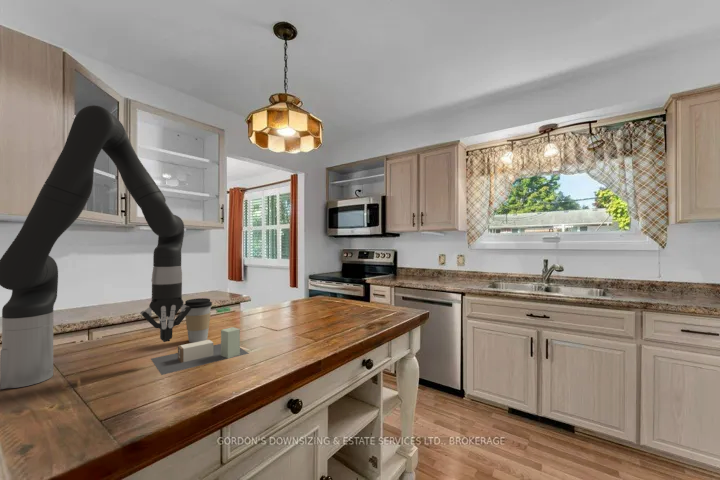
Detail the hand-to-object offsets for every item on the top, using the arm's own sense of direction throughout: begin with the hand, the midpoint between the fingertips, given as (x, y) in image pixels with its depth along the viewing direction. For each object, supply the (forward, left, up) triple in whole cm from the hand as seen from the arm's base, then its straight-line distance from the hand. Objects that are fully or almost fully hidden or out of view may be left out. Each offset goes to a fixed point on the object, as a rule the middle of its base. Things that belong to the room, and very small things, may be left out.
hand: (166, 340), depth 92 cm
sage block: (+16, -6, -7) cm, 19 cm away
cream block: (+3, 0, -5) cm, 6 cm away
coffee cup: (+13, +18, -7) cm, 23 cm away
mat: (+9, 0, -7) cm, 12 cm away
